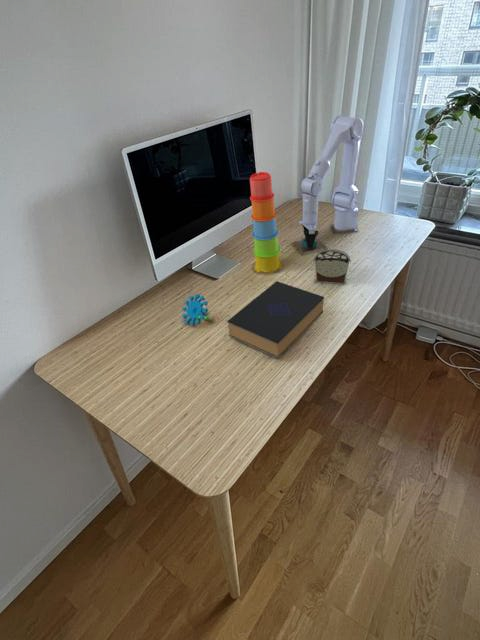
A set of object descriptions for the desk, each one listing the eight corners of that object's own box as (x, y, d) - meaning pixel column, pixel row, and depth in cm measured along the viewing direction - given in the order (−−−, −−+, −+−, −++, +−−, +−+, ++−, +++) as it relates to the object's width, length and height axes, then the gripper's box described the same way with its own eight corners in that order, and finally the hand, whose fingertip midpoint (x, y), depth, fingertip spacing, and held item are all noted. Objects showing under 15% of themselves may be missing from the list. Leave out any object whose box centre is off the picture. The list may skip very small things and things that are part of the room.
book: (229, 338, 112) (227, 320, 108) (276, 297, 127) (276, 280, 123) (278, 361, 103) (277, 342, 99) (323, 314, 118) (324, 296, 114)
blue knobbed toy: (175, 313, 122) (192, 287, 120) (187, 317, 126) (203, 292, 125) (195, 333, 115) (212, 306, 114) (207, 336, 120) (224, 310, 119)
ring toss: (314, 239, 159) (315, 227, 156) (326, 249, 151) (326, 237, 148) (292, 244, 157) (292, 232, 154) (303, 254, 149) (303, 242, 146)
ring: (315, 241, 156) (315, 236, 154) (317, 247, 151) (317, 243, 150) (301, 242, 156) (301, 237, 155) (302, 248, 152) (302, 243, 150)
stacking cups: (282, 273, 139) (281, 177, 118) (254, 275, 140) (248, 180, 119) (280, 259, 147) (278, 167, 126) (253, 261, 148) (247, 170, 127)
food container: (349, 275, 135) (352, 249, 129) (348, 284, 130) (351, 258, 124) (314, 272, 138) (315, 247, 132) (312, 281, 133) (313, 256, 127)
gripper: (298, 204, 151) (297, 235, 159) (301, 218, 139) (300, 251, 148) (315, 202, 150) (314, 234, 159) (320, 217, 139) (319, 250, 147)
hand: (309, 242), depth 153 cm, fingers open, 6 cm apart
